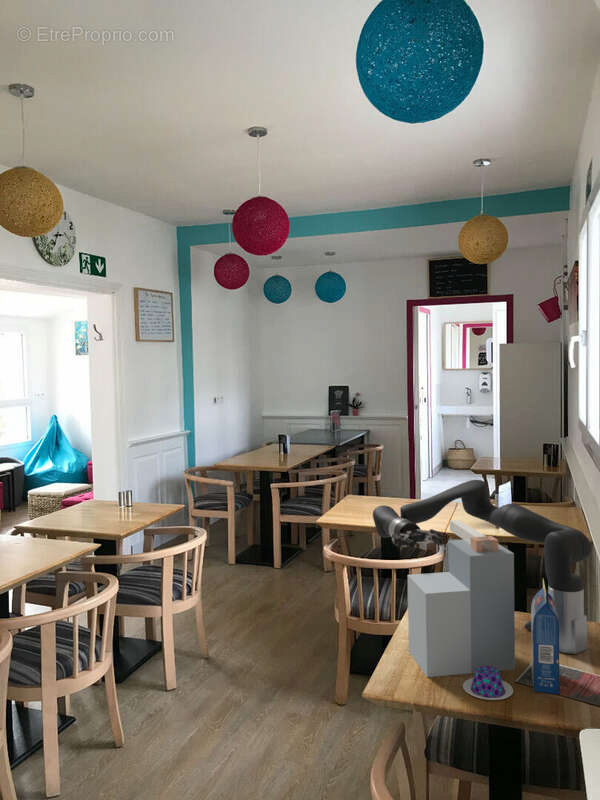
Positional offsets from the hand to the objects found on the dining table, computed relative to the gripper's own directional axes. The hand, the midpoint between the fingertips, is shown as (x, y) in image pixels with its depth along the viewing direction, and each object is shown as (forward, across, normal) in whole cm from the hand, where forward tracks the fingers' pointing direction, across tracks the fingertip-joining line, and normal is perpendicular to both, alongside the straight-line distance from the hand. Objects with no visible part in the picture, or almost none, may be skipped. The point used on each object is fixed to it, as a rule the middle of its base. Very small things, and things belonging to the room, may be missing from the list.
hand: (426, 543), depth 197 cm
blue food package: (+32, +15, +30) cm, 47 cm away
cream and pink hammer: (+9, +9, -2) cm, 13 cm away
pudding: (+32, 0, +30) cm, 43 cm away
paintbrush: (+2, +39, +30) cm, 50 cm away
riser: (+14, +1, +29) cm, 32 cm away
